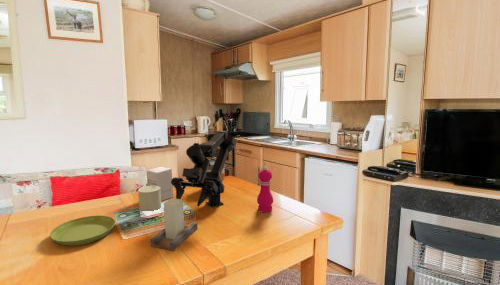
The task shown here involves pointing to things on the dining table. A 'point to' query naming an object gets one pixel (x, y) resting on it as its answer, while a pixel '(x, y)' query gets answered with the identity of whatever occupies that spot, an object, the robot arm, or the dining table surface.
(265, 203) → the pepper mill
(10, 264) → the dining table surface
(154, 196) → the can
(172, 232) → the white rectangular block
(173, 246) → the floor track
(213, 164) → the reusable coffee cup
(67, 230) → the saucer
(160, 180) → the supplement box
